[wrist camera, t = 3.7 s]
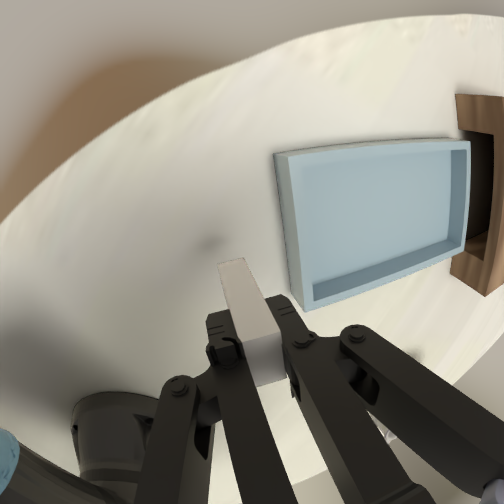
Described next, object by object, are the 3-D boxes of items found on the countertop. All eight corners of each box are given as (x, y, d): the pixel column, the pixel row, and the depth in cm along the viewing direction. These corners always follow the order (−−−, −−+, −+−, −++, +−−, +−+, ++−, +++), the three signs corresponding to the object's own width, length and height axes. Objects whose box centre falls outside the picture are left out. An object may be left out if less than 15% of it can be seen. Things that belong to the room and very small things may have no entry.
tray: (291, 294, 25) (304, 312, 22) (272, 153, 20) (287, 156, 17) (445, 241, 28) (463, 251, 25) (449, 137, 23) (470, 141, 20)
